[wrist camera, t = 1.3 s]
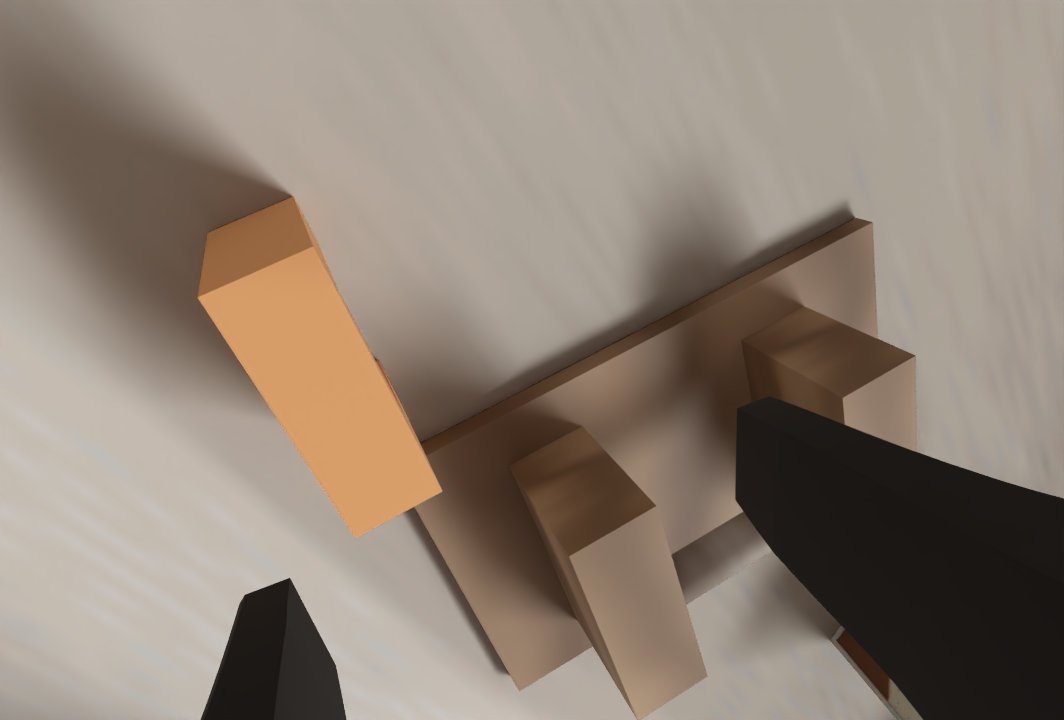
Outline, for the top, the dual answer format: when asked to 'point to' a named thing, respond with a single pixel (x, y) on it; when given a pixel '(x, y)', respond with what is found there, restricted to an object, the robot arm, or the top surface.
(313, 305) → the orange step-cut beam
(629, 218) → the top surface
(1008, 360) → the top surface
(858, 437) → the robot arm
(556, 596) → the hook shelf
